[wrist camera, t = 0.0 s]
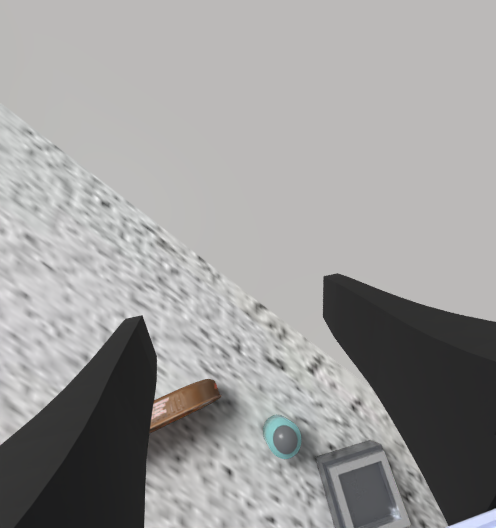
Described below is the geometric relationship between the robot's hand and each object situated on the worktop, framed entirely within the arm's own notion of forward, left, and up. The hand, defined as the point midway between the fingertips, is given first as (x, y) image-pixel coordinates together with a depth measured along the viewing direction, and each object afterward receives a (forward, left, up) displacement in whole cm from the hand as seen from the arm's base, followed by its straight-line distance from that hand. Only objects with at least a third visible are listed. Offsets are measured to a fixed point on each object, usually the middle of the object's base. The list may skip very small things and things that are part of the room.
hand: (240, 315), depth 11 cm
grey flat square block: (-18, -12, -32) cm, 39 cm away
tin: (-4, +10, -33) cm, 34 cm away
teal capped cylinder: (-10, -4, -32) cm, 34 cm away
